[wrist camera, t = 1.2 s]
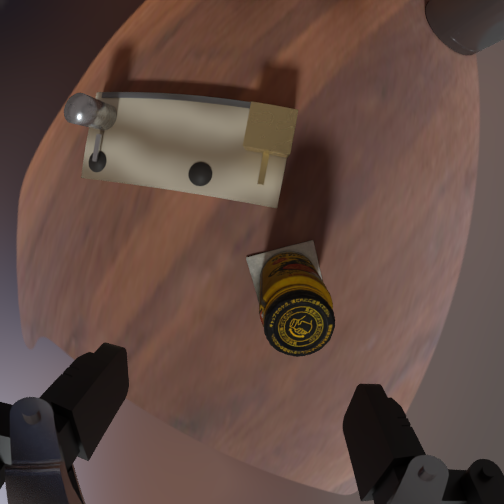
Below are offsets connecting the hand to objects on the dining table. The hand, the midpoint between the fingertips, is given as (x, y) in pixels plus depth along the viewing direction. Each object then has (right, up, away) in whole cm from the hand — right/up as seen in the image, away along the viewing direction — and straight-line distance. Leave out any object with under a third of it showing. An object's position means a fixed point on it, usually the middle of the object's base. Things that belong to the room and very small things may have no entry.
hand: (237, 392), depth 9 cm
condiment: (+5, +1, +24) cm, 24 cm away
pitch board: (-7, +16, +21) cm, 27 cm away
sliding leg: (+2, +14, +19) cm, 24 cm away
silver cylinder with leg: (-16, +18, +19) cm, 30 cm away
